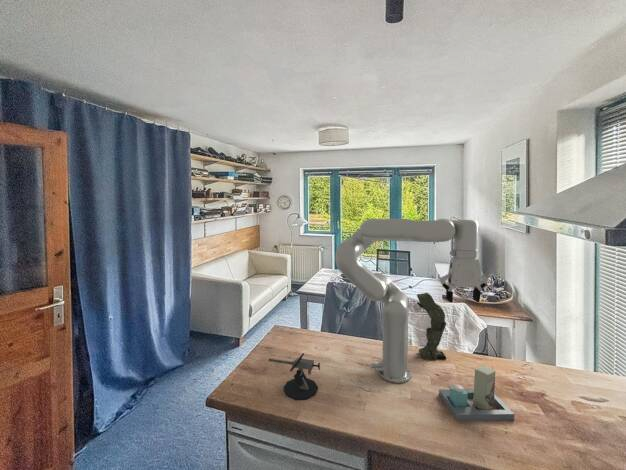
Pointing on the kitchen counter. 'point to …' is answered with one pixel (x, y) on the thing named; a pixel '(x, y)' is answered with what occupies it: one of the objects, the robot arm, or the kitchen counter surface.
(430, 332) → the mechanical leg
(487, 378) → the box
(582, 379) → the kitchen counter surface
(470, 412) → the frame
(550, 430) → the kitchen counter surface
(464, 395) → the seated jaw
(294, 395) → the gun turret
